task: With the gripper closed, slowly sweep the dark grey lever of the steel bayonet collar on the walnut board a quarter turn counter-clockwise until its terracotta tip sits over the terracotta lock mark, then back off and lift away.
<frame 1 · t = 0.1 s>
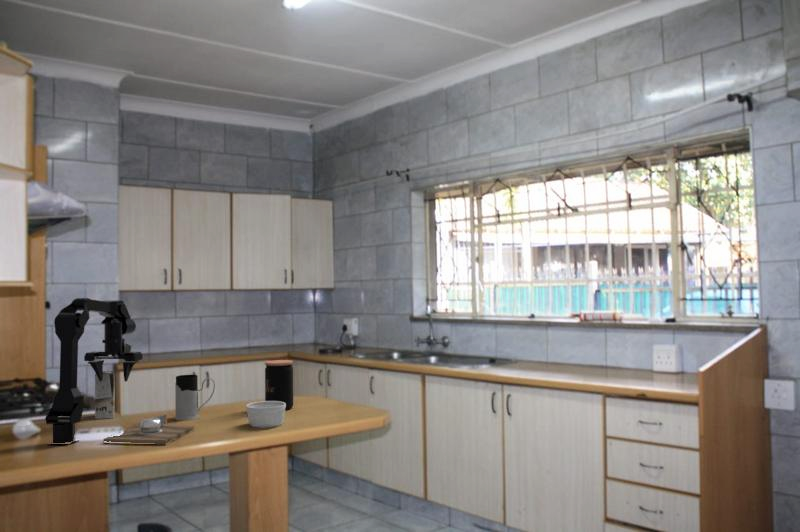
hand: (113, 381, 239), 15 cm above the table, fingers open, 9 cm apart
coffee box: (105, 417, 252), on the table
ramekin: (266, 425, 235), on the table
lock board: (150, 436, 218), on the table
coffee jar: (279, 409, 263), on the table
glass holder: (194, 417, 248), on the table
coupling: (155, 423, 221), point 4 cm above the table, hinge at 0.0°
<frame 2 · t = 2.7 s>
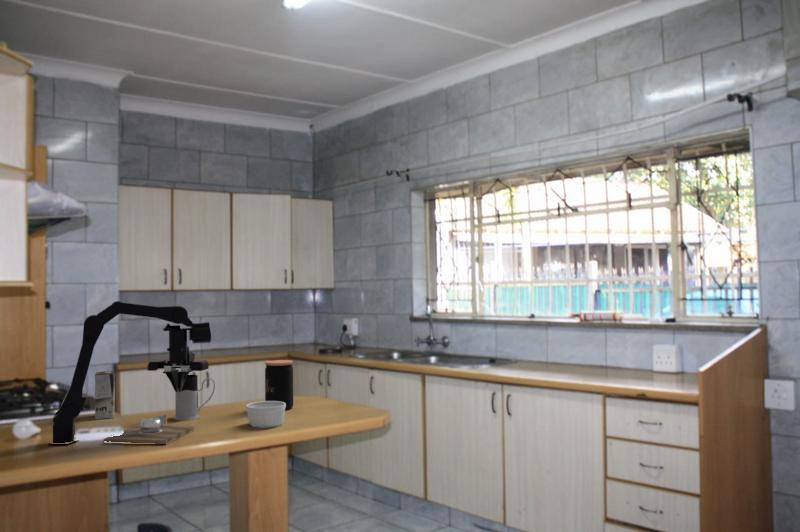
hand: (178, 391, 225), 13 cm above the table, fingers closed
nothing on the table moved.
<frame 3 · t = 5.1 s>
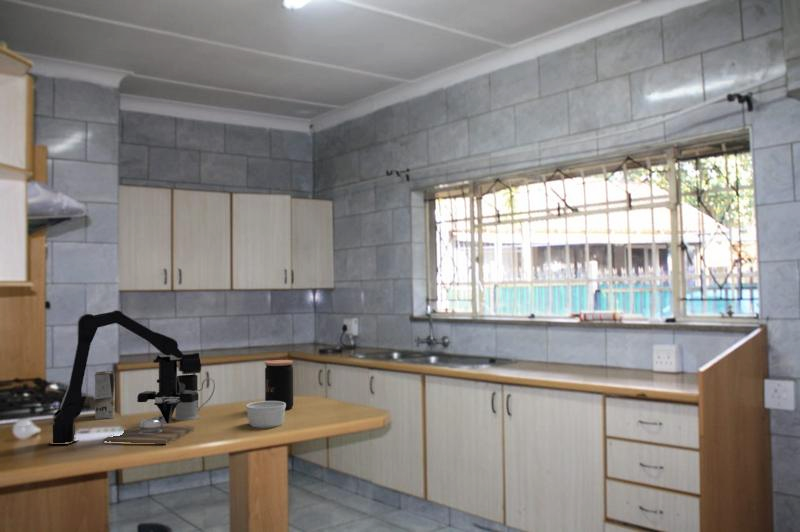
hand: (168, 423, 225), 3 cm above the table, fingers closed
coupling: (155, 423, 221), point 4 cm above the table, hinge at 1.1°, touching gripper
everything else where it was.
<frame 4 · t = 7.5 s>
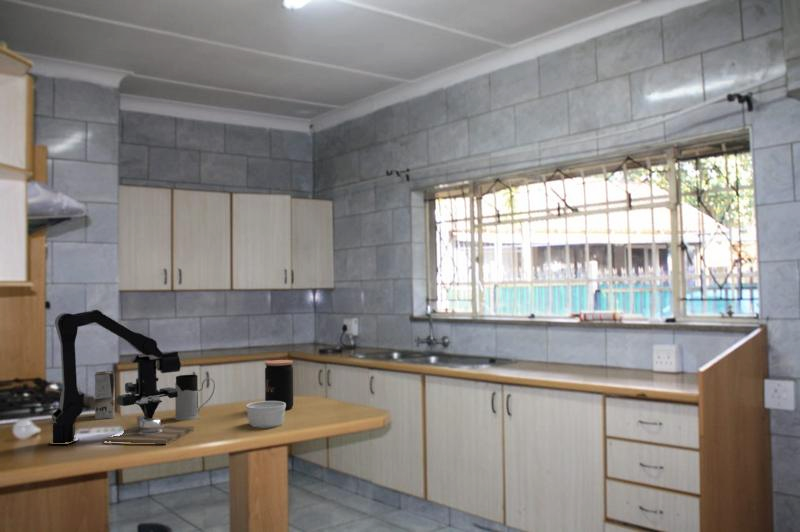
hand: (148, 422, 225), 3 cm above the table, fingers closed
coupling: (146, 423, 220), point 4 cm above the table, hinge at 48.6°, touching gripper
everything else where it was.
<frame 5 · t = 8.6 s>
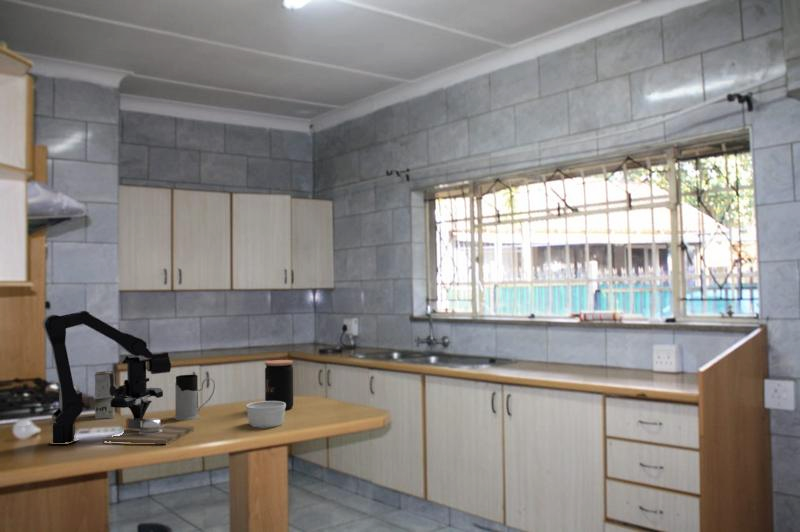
hand: (138, 423, 223), 3 cm above the table, fingers closed
coupling: (142, 424, 219), point 4 cm above the table, hinge at 72.8°, touching gripper
everything else where it was.
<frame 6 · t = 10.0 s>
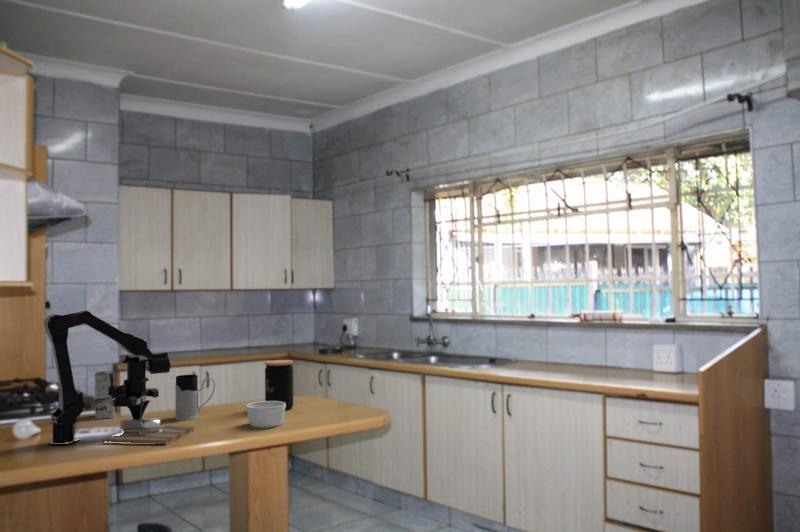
hand: (137, 423, 224), 3 cm above the table, fingers closed
coupling: (140, 425, 218), point 4 cm above the table, hinge at 91.0°
everything else where it was.
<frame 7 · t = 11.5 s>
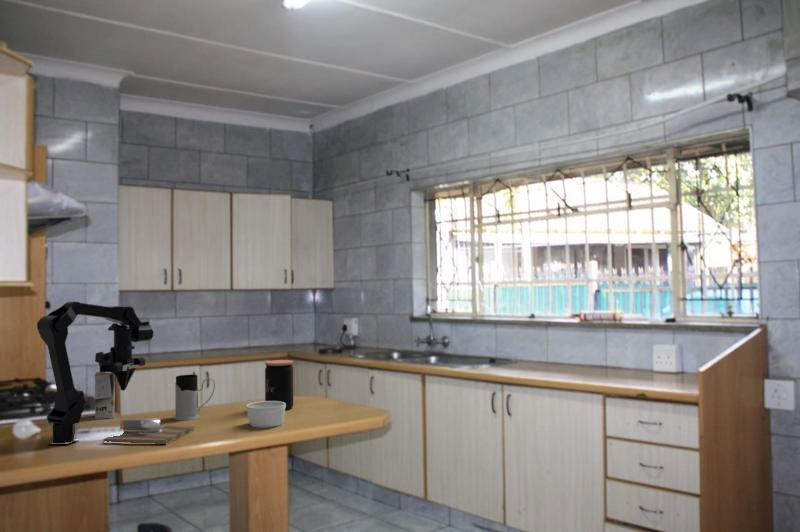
hand: (123, 390, 230), 13 cm above the table, fingers closed
nothing on the table moved.
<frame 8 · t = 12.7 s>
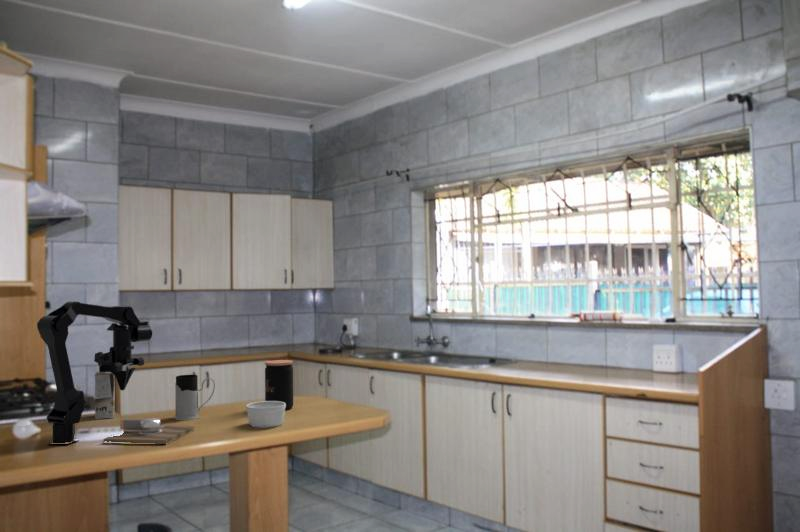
hand: (122, 390, 230), 13 cm above the table, fingers closed
nothing on the table moved.
at the end: coupling at +91° (first picture: +0°); the gripper is holding nothing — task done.
